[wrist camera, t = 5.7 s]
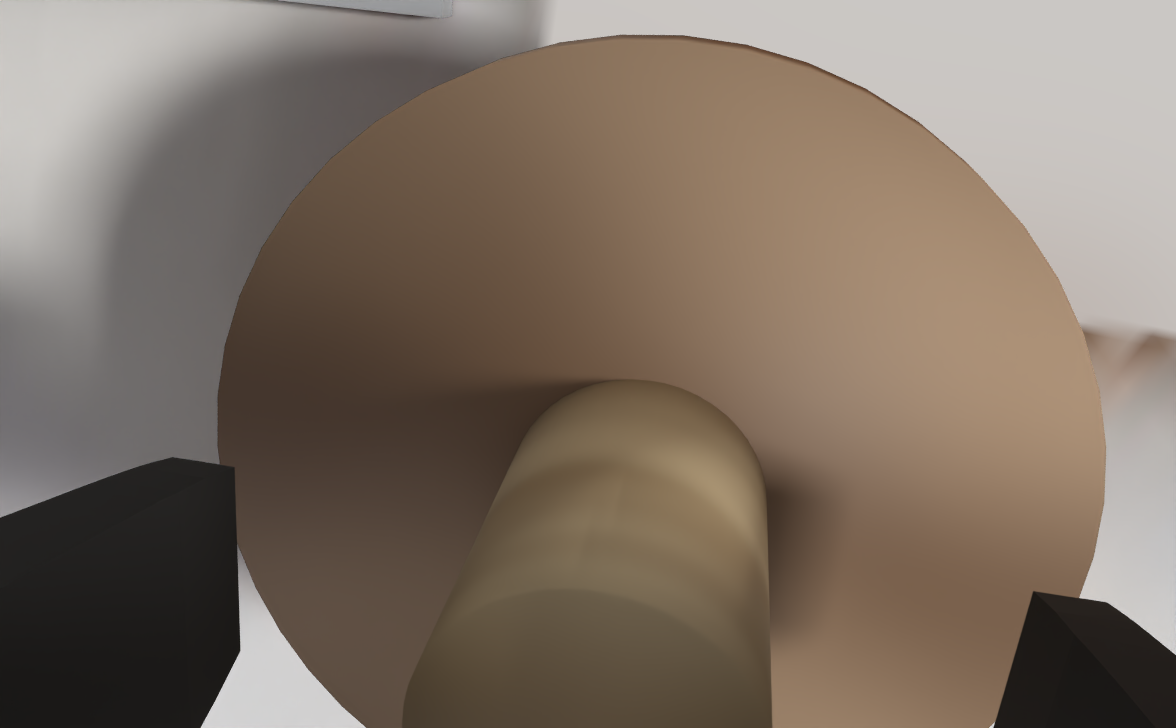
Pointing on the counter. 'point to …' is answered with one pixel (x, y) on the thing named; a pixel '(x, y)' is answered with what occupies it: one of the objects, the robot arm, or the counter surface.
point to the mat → (392, 6)
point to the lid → (657, 406)
